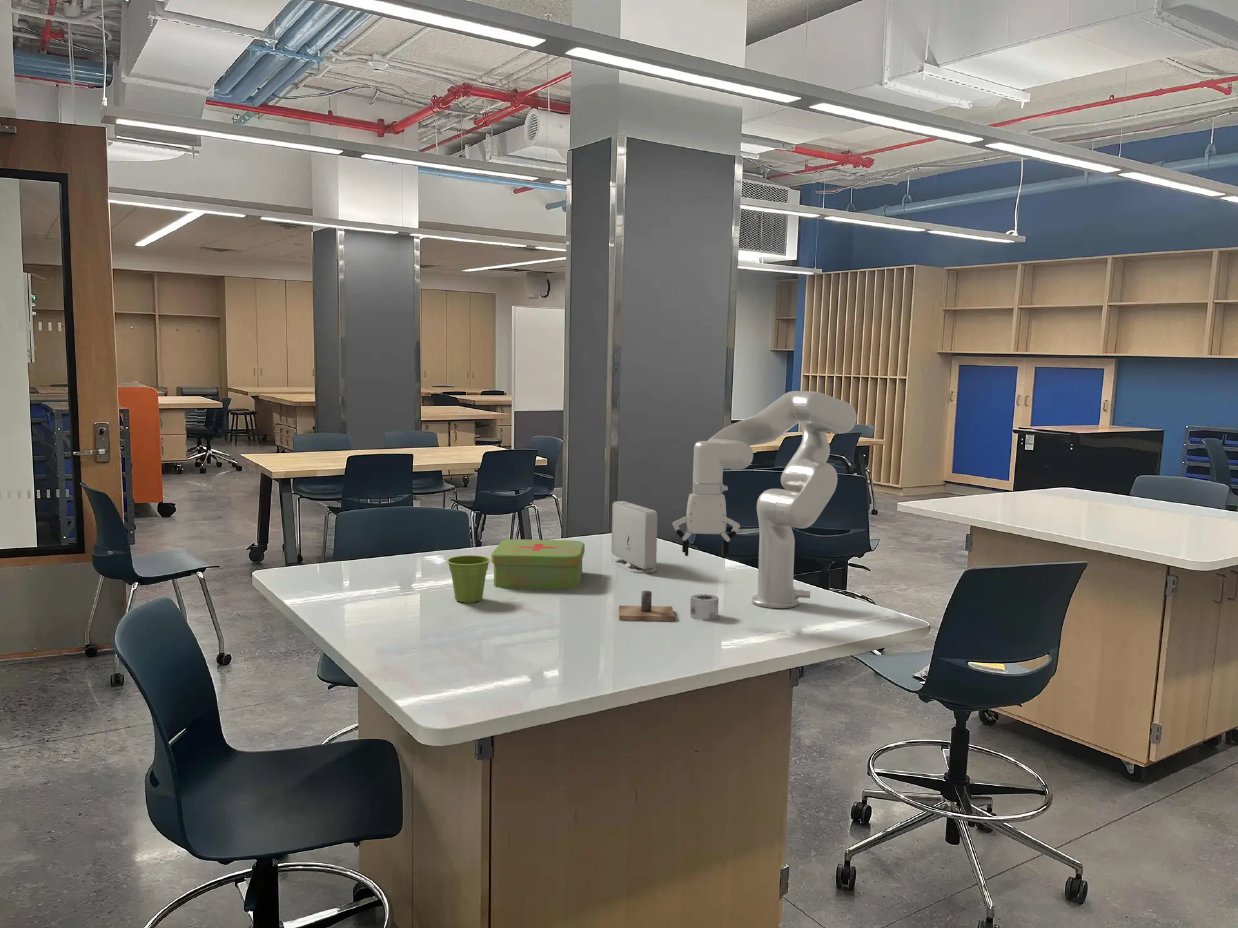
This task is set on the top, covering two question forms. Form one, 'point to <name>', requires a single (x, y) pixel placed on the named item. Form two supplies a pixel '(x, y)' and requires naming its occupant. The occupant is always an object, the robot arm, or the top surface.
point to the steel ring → (704, 607)
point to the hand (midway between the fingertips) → (705, 555)
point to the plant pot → (468, 576)
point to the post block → (646, 611)
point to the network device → (634, 536)
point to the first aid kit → (538, 564)
